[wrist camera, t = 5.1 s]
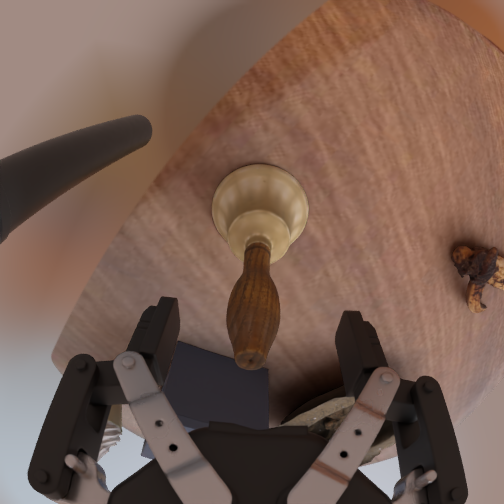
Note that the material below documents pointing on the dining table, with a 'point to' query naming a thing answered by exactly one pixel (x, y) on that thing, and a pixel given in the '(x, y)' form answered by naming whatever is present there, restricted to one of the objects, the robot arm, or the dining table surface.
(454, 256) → the lashed bone hook
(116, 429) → the ice cream cone
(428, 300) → the dining table surface
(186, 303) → the dining table surface
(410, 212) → the dining table surface
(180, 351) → the shelf
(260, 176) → the hand bell
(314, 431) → the stone bowl
